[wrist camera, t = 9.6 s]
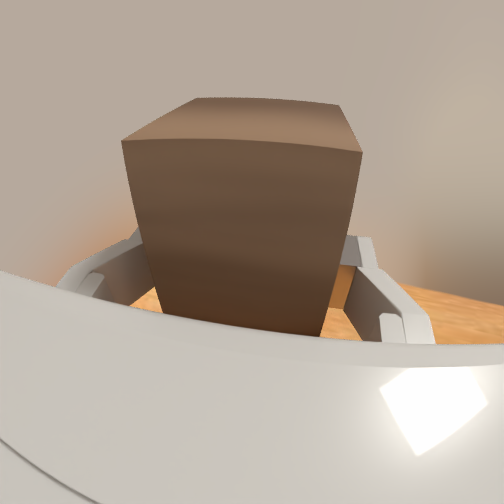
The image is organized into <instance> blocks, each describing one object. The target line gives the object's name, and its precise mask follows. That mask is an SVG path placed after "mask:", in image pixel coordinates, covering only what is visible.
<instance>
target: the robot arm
mask: <svg viewBox="0 0 504 504" xmlns="http://www.w3.org/2000/svg"><path fill="white" fill-rule="evenodd" d="M153 287H155V286H154V282H153V279H152V275H151V272H150V268H149V265H148V261H147V257H146V254H145V250H144V246H143V242H142V238H141V234H140V230H139V227H138V228H137V229H136V231H135V232H134V233H133V234H132V236H131V237H130V238H129V239H128V240H126V239H125V240H122V241H120V242H118V243H116V244H114V245H112V246H110V247H108V248H106V249H104V250H102V251H100V252H99V253H97V254H94V255H93V256H90V257H89V258H87V259H85V260H83V261H81V262H79V263H77V264H75V265H73V266H72V267H71V268H70V269H69V270H68V271H67V273H66V274H65V275H64V276H63V278H62V279H61V280H60V282H59V283H58V284H57V286H56V287H53V286H49V285H46V284H42V283H39V282H36V281H33V280H29V279H26V278H23V277H20V276H16V275H13V274H10V273H7V272H4V271H1V270H0V504H504V344H436V343H435V339H434V334H433V330H432V326H431V322H430V318H429V315H428V314H427V313H426V312H425V311H424V310H423V309H422V308H421V307H420V306H419V305H418V304H417V303H416V302H415V301H414V300H413V299H412V298H411V297H410V296H409V295H408V294H407V293H406V292H405V291H404V290H403V289H402V288H401V287H400V286H399V285H398V284H397V283H396V282H395V281H394V280H393V279H392V278H391V277H390V276H389V275H387V273H385V271H383V270H381V269H378V264H377V260H376V255H375V251H374V247H373V242H372V239H371V238H370V237H362V236H350V235H346V240H345V244H344V248H343V252H342V256H341V261H340V265H339V268H338V272H337V276H336V280H335V284H334V288H333V291H332V295H331V299H330V302H329V306H328V307H330V308H337V309H344V310H343V311H344V312H345V314H346V315H347V317H348V318H349V320H350V321H351V323H352V325H353V326H354V328H355V329H356V331H357V332H358V334H359V336H360V337H361V339H362V340H363V341H357V340H345V339H334V338H323V337H313V336H304V335H295V334H287V333H279V332H271V331H264V330H257V329H250V328H243V327H237V326H230V325H224V324H218V323H212V322H206V321H201V320H195V319H190V318H184V317H179V316H174V315H169V314H164V313H159V312H154V311H149V310H144V309H140V308H135V307H131V306H130V305H131V304H132V303H134V302H135V301H136V300H138V299H139V298H140V297H142V296H143V295H144V294H145V293H147V292H148V291H149V290H151V289H152V288H153Z"/></svg>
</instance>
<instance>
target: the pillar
mask: <svg viewBox="0 0 504 504" xmlns="http://www.w3.org/2000/svg"><path fill="white" fill-rule="evenodd" d="M121 142H122V149H123V155H124V160H125V166H126V171H127V176H128V181H129V186H130V191H131V196H132V200H133V205H134V209H135V213H136V218H137V222H138V226H139V230H140V234H141V238H142V242H143V246H144V250H145V254H146V257H147V261H148V265H149V268H150V272H151V275H152V279H153V282H154V286H155V289H156V292H157V295H158V299H159V302H160V305H161V308H162V311H163V313H164V314H169V315H174V316H179V317H184V318H190V319H195V320H201V321H206V322H212V323H218V324H224V325H230V326H237V327H243V328H250V329H257V330H264V331H271V332H279V333H287V334H295V335H304V336H313V337H319V336H320V333H321V330H322V326H323V323H324V320H325V316H326V313H327V309H328V306H329V302H330V299H331V295H332V291H333V288H334V284H335V280H336V276H337V272H338V268H339V265H340V261H341V256H342V252H343V248H344V244H345V240H346V235H347V231H348V226H349V222H350V217H351V212H352V208H353V203H354V198H355V193H356V187H357V182H358V176H359V171H360V165H361V159H362V153H363V152H362V150H361V148H360V145H359V143H358V141H357V140H356V137H355V135H354V133H353V131H352V129H351V127H350V126H349V123H348V121H347V120H346V118H345V116H344V114H343V112H342V110H341V108H340V107H339V106H338V105H333V104H325V103H316V102H306V101H296V100H282V99H265V98H196V99H194V100H192V101H190V102H188V103H186V104H184V105H182V106H180V107H178V108H176V109H175V110H173V111H171V112H169V113H167V114H165V115H163V116H162V117H160V118H158V119H156V120H155V121H153V122H151V123H149V124H148V125H146V126H144V127H143V128H141V129H139V130H138V131H136V132H134V133H133V134H131V135H129V136H128V137H126V138H125V139H123V140H122V141H121Z"/></svg>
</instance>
